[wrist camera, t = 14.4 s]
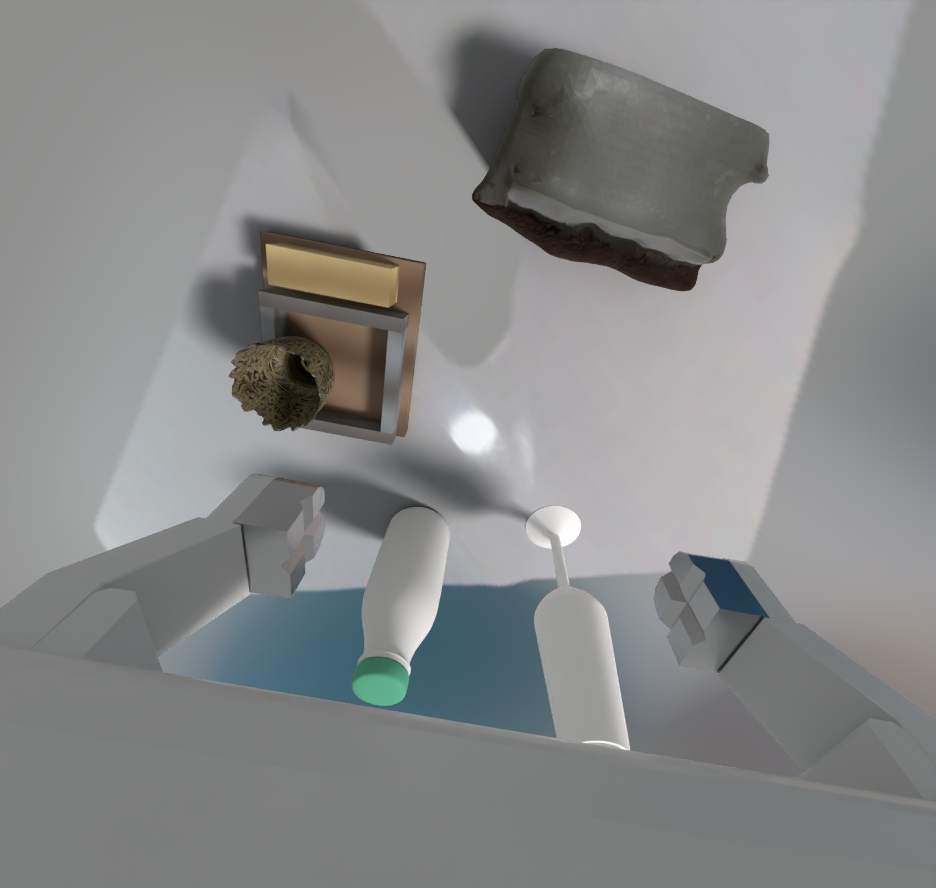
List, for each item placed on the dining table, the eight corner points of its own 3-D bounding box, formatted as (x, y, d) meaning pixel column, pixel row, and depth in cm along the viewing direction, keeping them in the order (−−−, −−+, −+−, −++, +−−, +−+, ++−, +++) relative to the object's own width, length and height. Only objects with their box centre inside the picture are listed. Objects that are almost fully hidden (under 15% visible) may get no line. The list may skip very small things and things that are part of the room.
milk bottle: (381, 509, 49) (315, 667, 31) (441, 500, 47) (408, 659, 30) (400, 555, 52) (351, 720, 35) (457, 548, 51) (435, 715, 33)
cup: (263, 354, 39) (210, 384, 32) (308, 303, 36) (259, 323, 29) (323, 409, 41) (285, 447, 34) (369, 364, 38) (338, 396, 31)
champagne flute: (591, 517, 47) (667, 749, 26) (564, 555, 50) (612, 790, 29) (540, 498, 46) (576, 722, 25) (516, 537, 49) (529, 766, 28)
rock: (466, 226, 34) (459, 225, 27) (510, 54, 28) (515, -4, 21) (664, 292, 35) (707, 307, 28) (741, 140, 30) (816, 113, 23)
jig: (269, 231, 35) (239, 231, 31) (426, 262, 35) (417, 266, 31) (279, 406, 43) (257, 424, 39) (407, 430, 43) (398, 451, 39)
